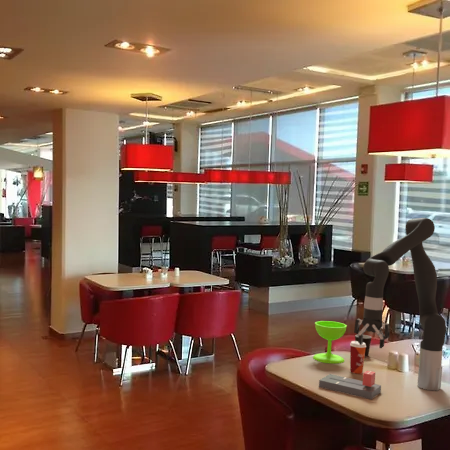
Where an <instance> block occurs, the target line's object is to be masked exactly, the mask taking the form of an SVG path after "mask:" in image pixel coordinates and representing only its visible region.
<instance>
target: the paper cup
mask: <svg viewBox="0 0 450 450" xmlns="http://www.w3.org/2000/svg"><path fill="white" fill-rule="evenodd" d="M349 348H350V351H349V352H350V359H349V360H350V361H349V363H350V369H349V370H350V373H352V374H354V375H355V374H356V375H357V374H358V375H361V374H363V373H364V372H363V370H364V365H365V364H364V363H365V358H366V357H365V349H366V344H365V343H364V342H363V344H362V345H360V344H359V343H358V341H355V340H351V341H350V343H349Z"/></svg>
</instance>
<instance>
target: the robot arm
mask: <svg viewBox="0 0 450 450" xmlns="http://www.w3.org/2000/svg"><path fill="white" fill-rule="evenodd" d="M434 232H435V224H434V221H433V220H432V219H431V218H427V217H418V218H410V219H407V221H406V224H405V236H403V237H401V238H399V239H397V240H395V241H393V242H392V243H390V244H388V246H386V247H385V248H384V249H383V250H382V251H381V252H378V253H376V254H374V255H372V256H371V257H369V258H368V259H366V261H365V262H364V264H363V267H362V268H363V272H364V274H366V275H367V276H369V277H374V278H373V281H369V282H367V283H366V285H365V296H364V303H363V317H362V318H363V319H360V318H356V319H355V322H354V323H355V324H354V334H355V335H358V336H359V337H358V343H359V344H360V345H362V344H363V335H364V334H365V332H366V331H367V333H368V332H371V333H376V334H377V336H378V337H379V338H380V339H379V344H378V345H379V349H383V348H384V347H385V340H387V339H389V338H390V336H391V335H390V327H391V326H390V323H383V310H384V288H385V284H386V282H387V279H388V276H389V272H390V268H389V266H392V265H394V264H396V262H398V261H399V260H400V259H401V258H402V257H403V256H404V255H406V254H407V253H408V252H409V251H410V256H411V261H412V262H411V263H412V267H413V268H412V269H413V270H412V271H413V278H414V284H415V289H416V293H417V298H418V308H419V313H418V314H419V315H418V316H419V324H420V327H421V328H422V329H423V335H422V336H423V337H422V340H421V341H420V343H419V344H420V345H419V359H418V360H419V361H418V371H417V372H418V373H417V387H418V388H419V389H422V388H423V390H426V389H427V390H426V391H435V390H437V391H436V392H438V391H440V389H441V388H442V377H443V376H442V375H443V374H442V373H443V366H442V360H443V359H442V358H443V346H444V344H445V341H446V330H447V324H446V323H447V321H446V319H445V318H444V317H443V316H442V315H440V314H439V313H438V311H439V310H438V308H437V302H436V295H437V288H438V278H437V271H436V266H435V264H434V262H433V261H432V260H431V259H430V257H429V255H428V254H427V252H426V251H425V248H424V244H423V242H425V241H426V240H428V239H429V238H431V237H432V236H433V235H434ZM361 325H363V327H362V329H360V327H361ZM382 328H383V329H384V331H382ZM383 332H384V333H383Z"/></svg>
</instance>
